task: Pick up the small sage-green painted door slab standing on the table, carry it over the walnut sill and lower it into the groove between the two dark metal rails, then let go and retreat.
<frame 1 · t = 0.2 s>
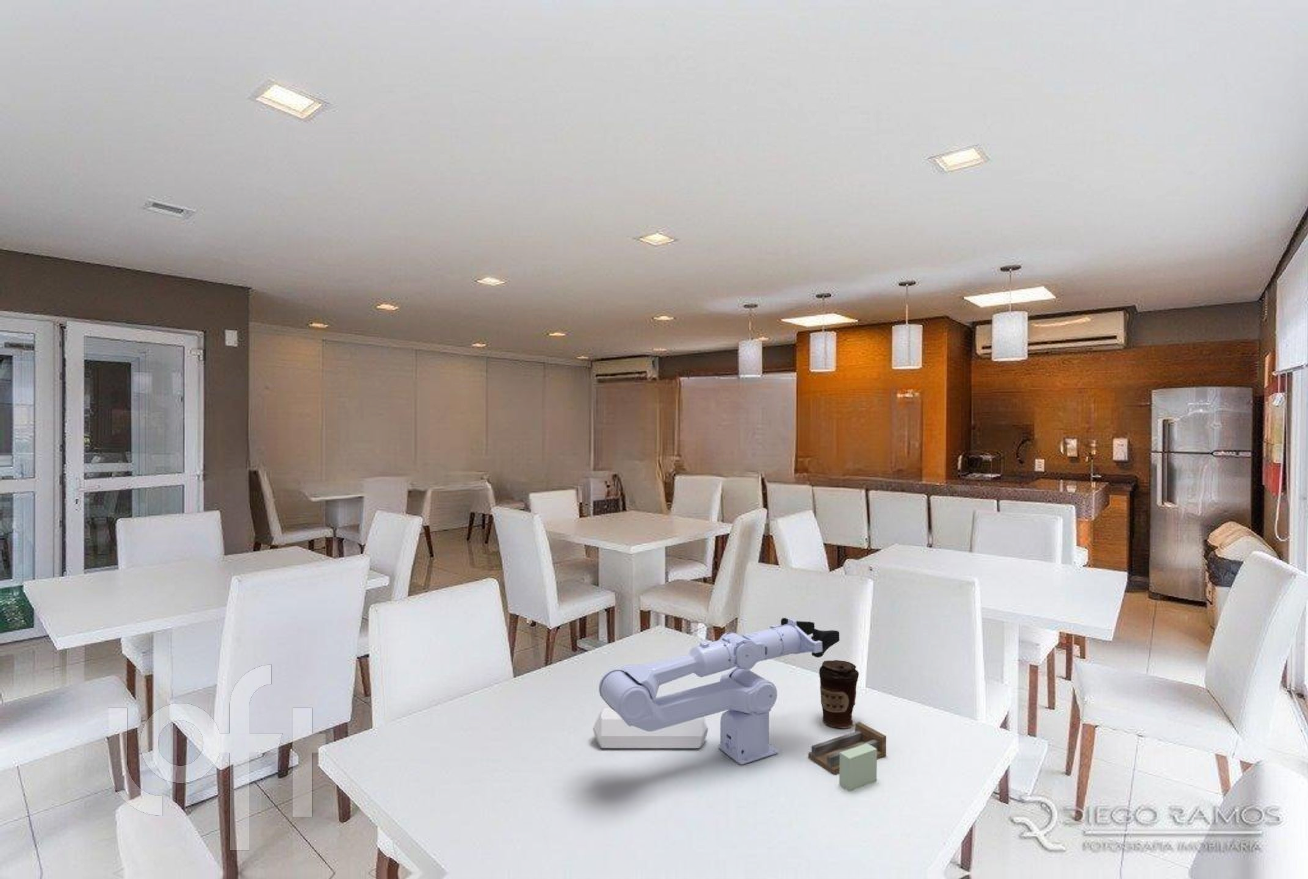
hand: (825, 631, 139), 21 cm above the table, tool horizontal, fingers open, 7 cm apart
door panel: (858, 782, 119), on the table
track sill: (847, 756, 128), on the table
crystal: (650, 743, 134), on the table
coffee cup: (837, 723, 142), on the table
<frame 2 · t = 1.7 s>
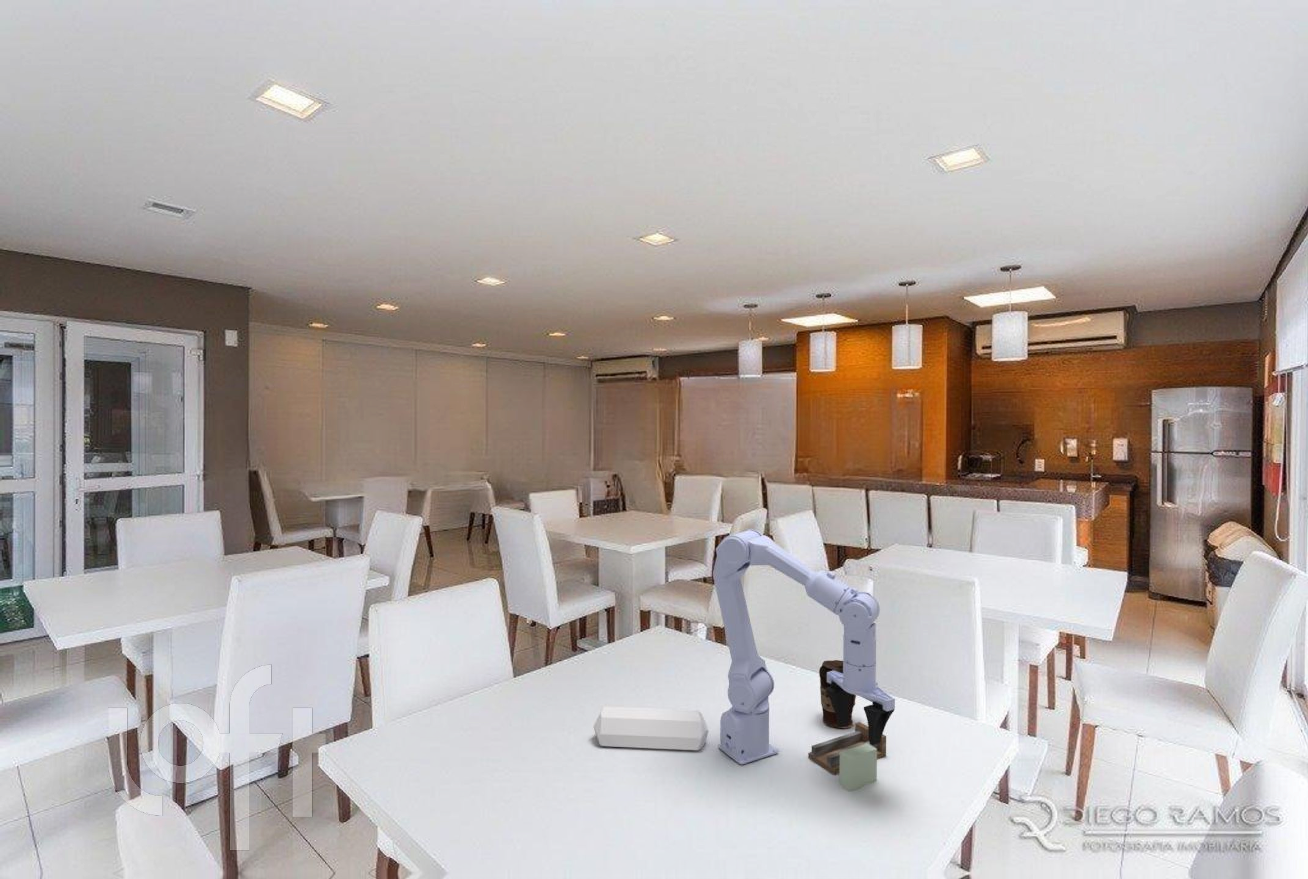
hand: (858, 734, 119), 9 cm above the table, tool pointing down, fingers open, 7 cm apart
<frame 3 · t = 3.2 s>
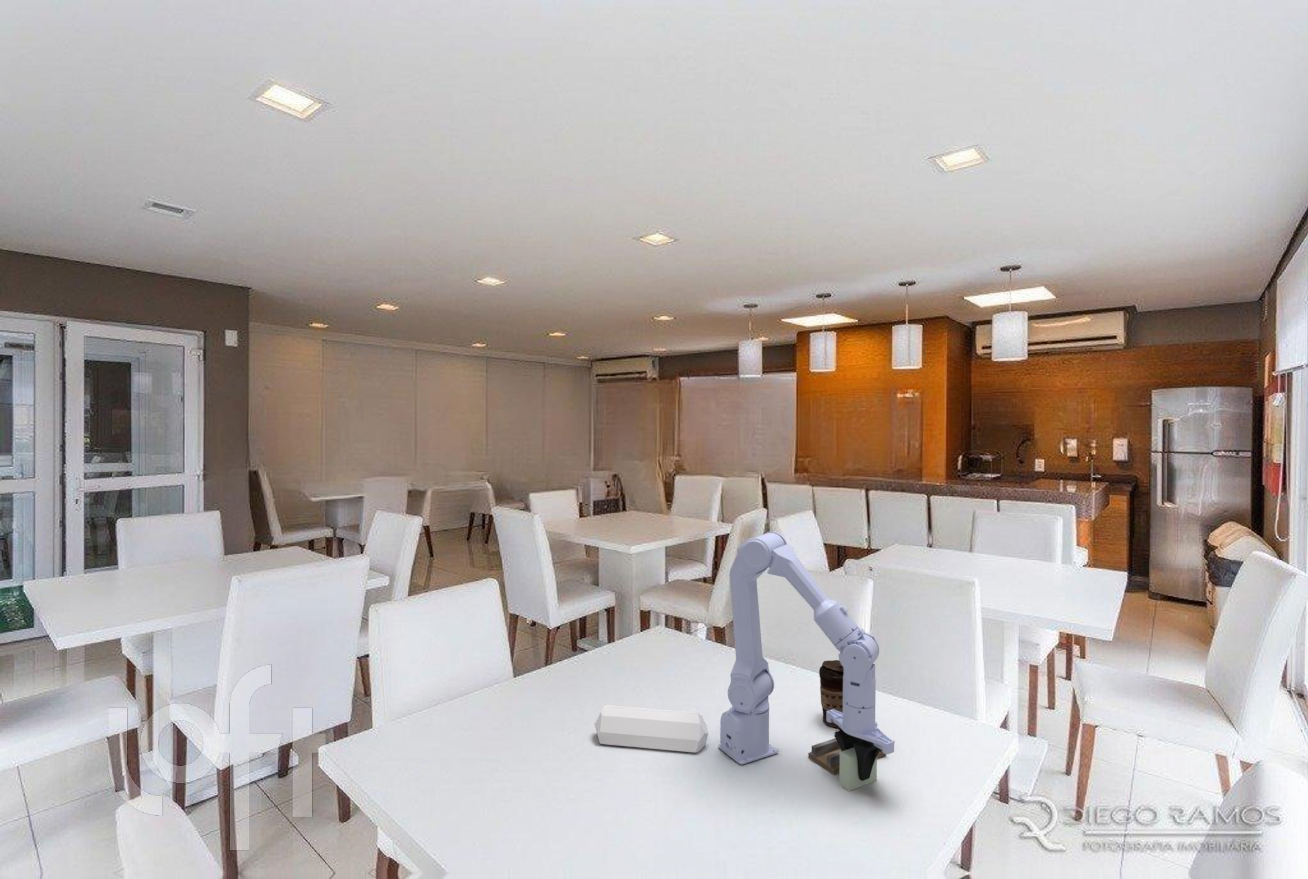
hand: (858, 774, 119), 1 cm above the table, tool pointing down, fingers closed on door panel, 2 cm apart
door panel: (858, 782, 119), on the table, touching gripper
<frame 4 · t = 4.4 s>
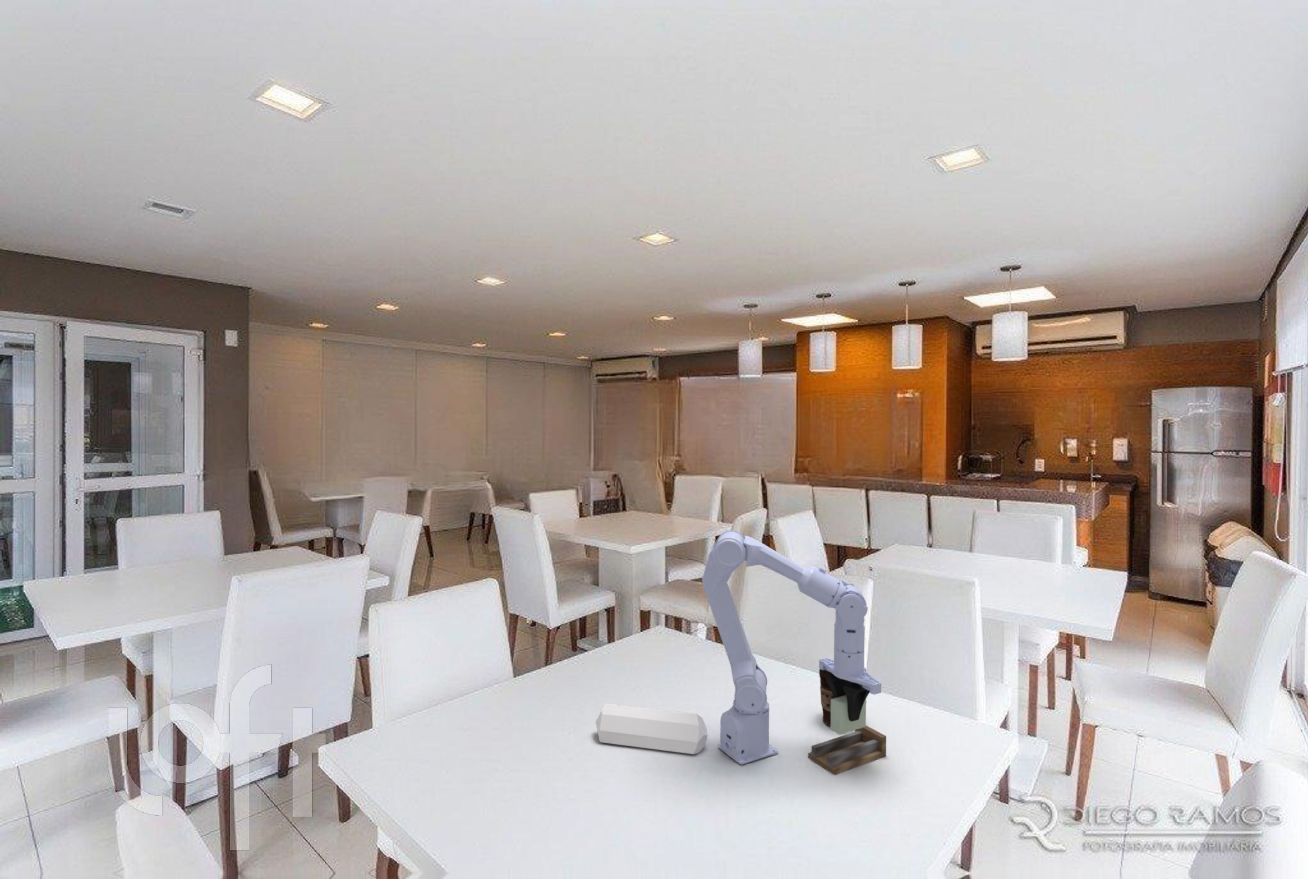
hand: (848, 716, 127), 8 cm above the table, tool pointing down, fingers closed on door panel, 2 cm apart
door panel: (848, 727, 127), point 6 cm above the table, touching gripper
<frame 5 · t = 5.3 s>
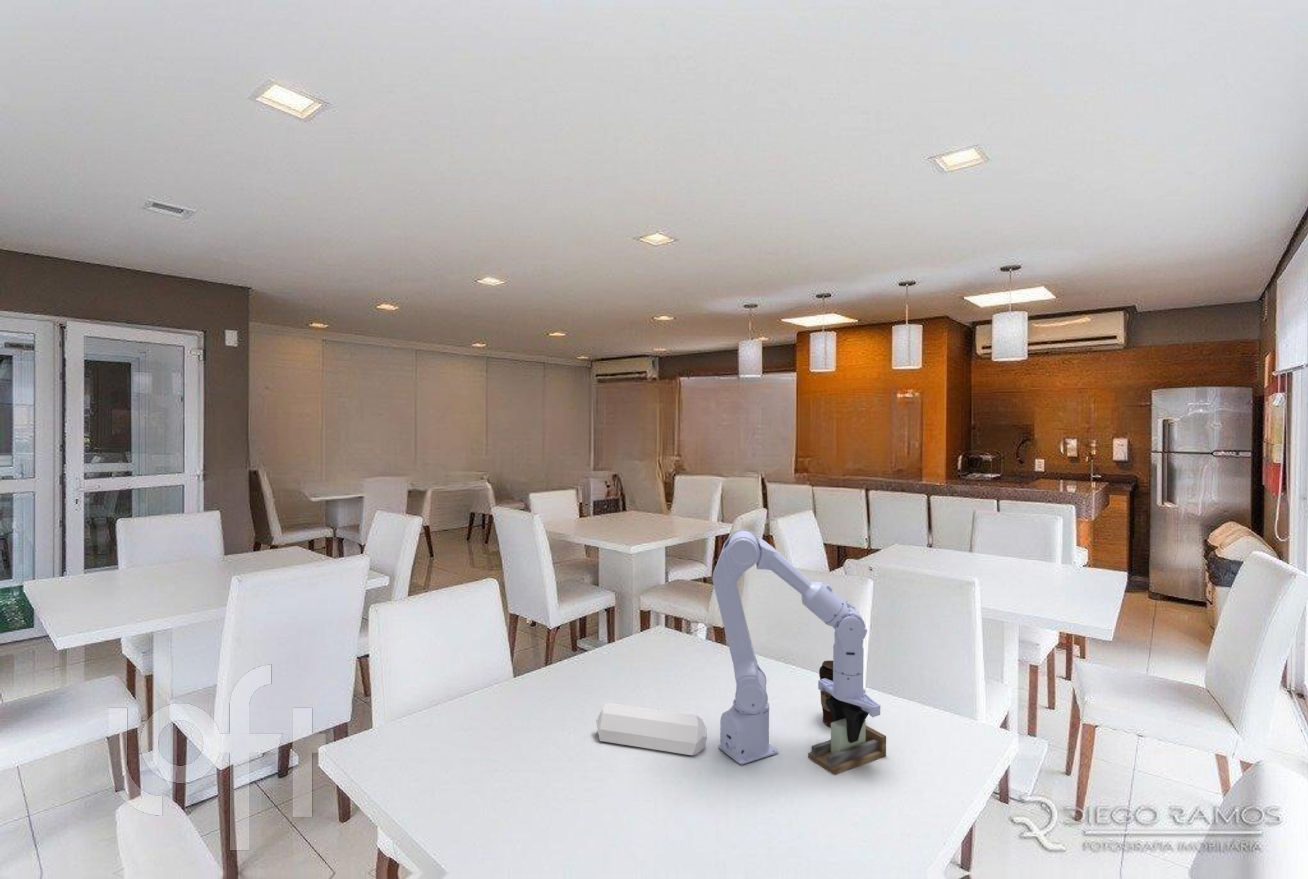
hand: (847, 737, 128), 4 cm above the table, tool pointing down, fingers closed on door panel, 2 cm apart
door panel: (848, 750, 128), point 1 cm above the table, touching gripper
when the fingers open (3 cm above the table, at t = 5.6 s): door panel stays where it is, resting on track sill.
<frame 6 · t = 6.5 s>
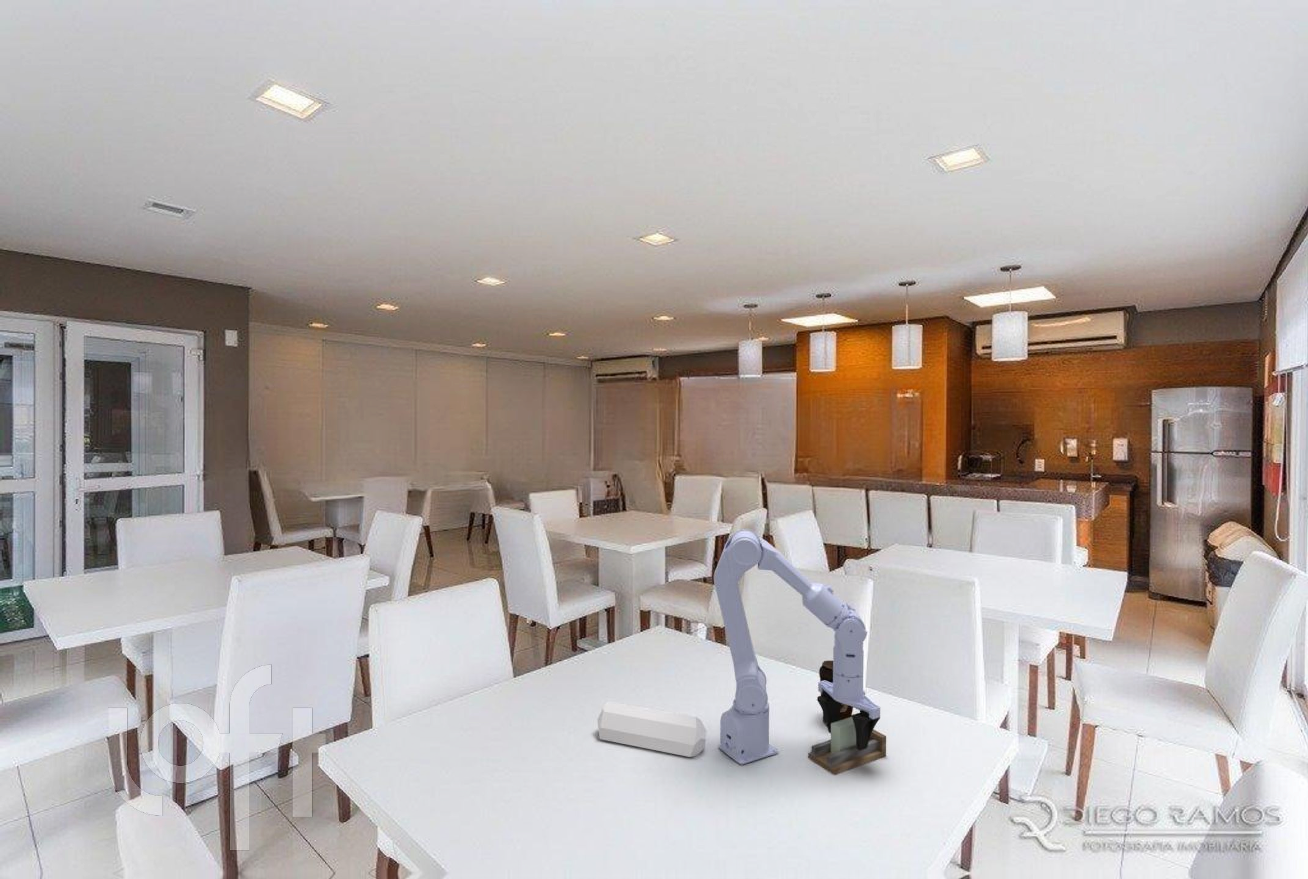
hand: (847, 739, 128), 3 cm above the table, tool pointing down, fingers open, 7 cm apart
door panel: (848, 751, 128), point 1 cm above the table, touching track sill
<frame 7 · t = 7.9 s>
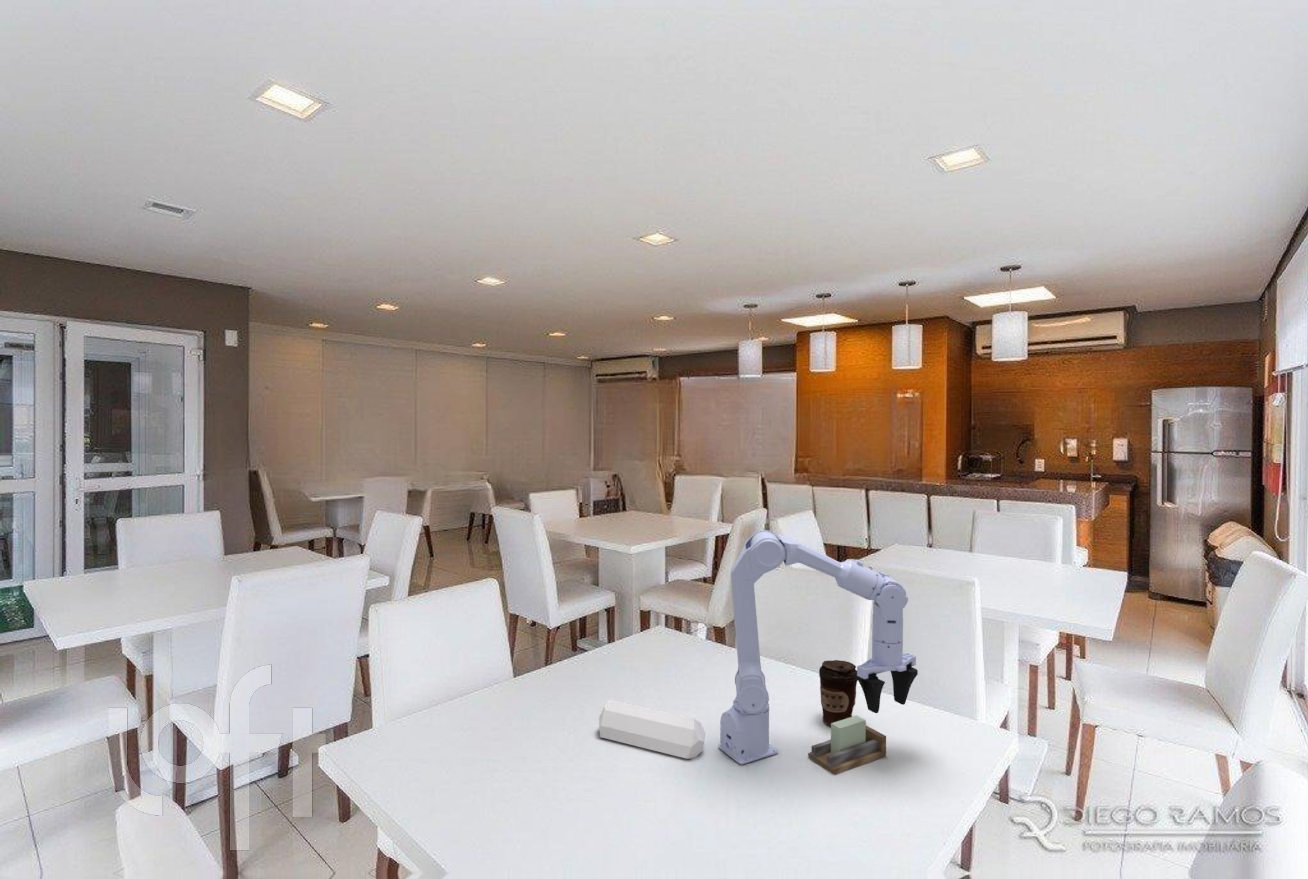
hand: (886, 706, 128), 10 cm above the table, tool pointing down, fingers open, 7 cm apart
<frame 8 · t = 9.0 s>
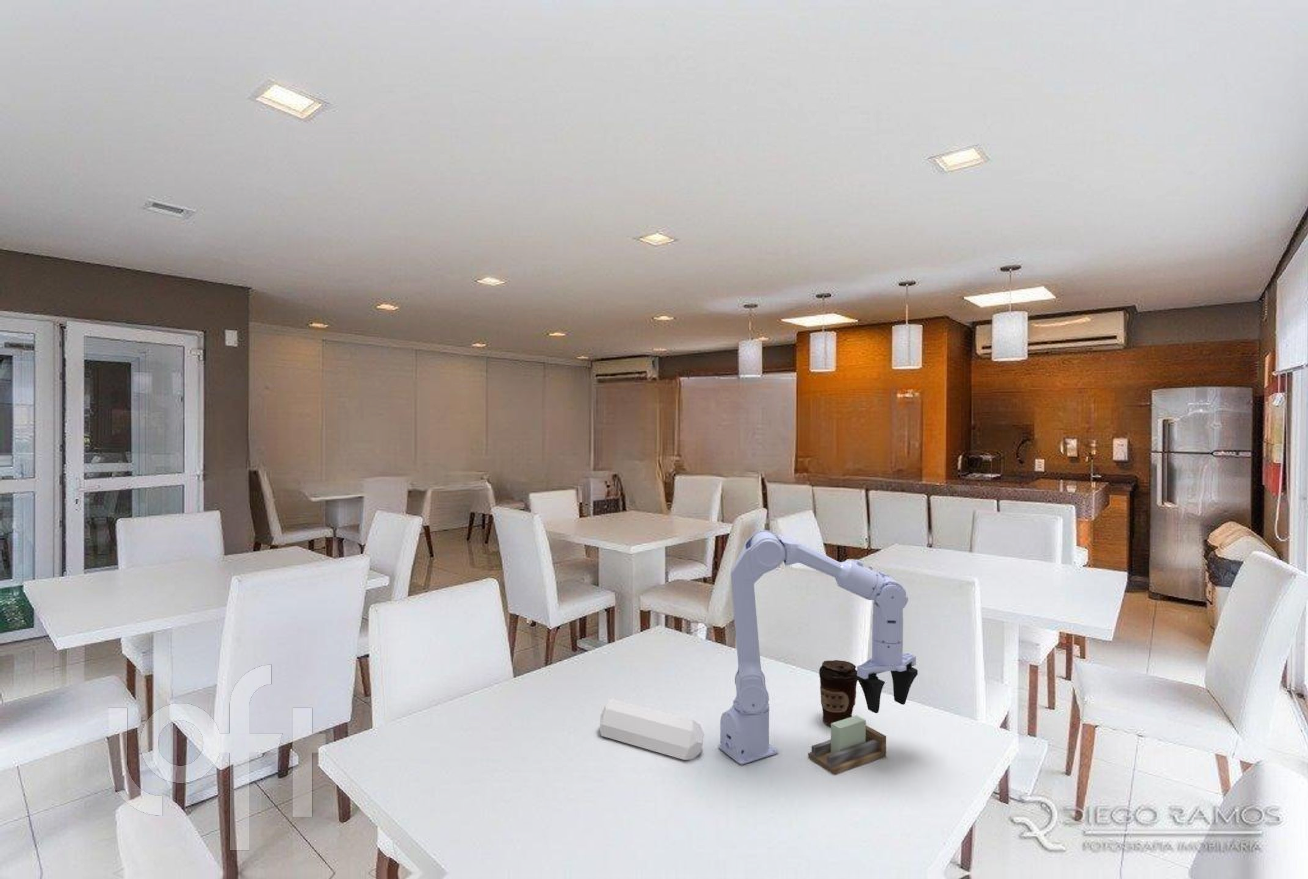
hand: (886, 706, 128), 10 cm above the table, tool pointing down, fingers open, 7 cm apart
at the end: door panel inside the target area on the track sill (0.5 cm from its centre), point 1.0 cm above the track sill's base; door panel tilted 0°; the gripper is holding nothing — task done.
